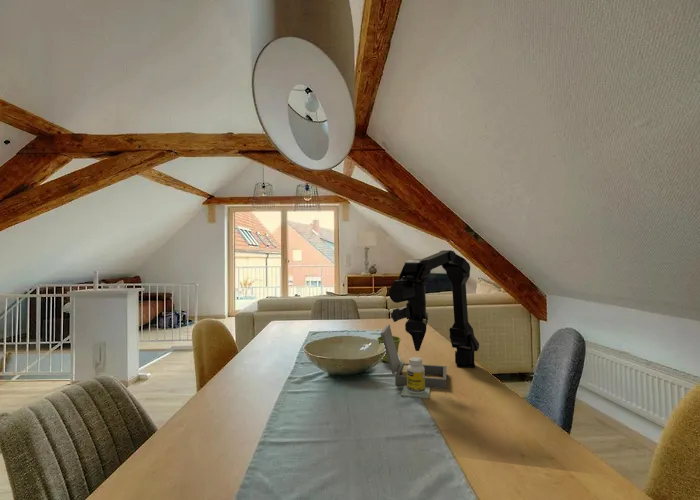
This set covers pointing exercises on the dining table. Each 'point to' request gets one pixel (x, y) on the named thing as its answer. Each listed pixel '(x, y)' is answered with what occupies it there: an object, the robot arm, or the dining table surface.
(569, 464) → the dining table surface
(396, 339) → the plant pot
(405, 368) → the case
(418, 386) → the supplement bottle
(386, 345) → the lid
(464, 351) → the robot arm
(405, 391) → the pad
